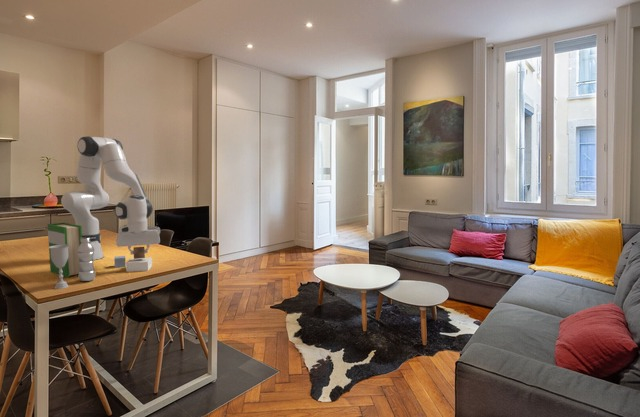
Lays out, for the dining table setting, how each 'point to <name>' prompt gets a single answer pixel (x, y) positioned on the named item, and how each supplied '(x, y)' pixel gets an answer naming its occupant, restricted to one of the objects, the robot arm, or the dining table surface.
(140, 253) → the walnut cube
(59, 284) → the chalice
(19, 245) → the dining table surface
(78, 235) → the hardback book
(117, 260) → the blue-grey cube
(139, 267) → the base block
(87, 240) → the plastic bottle
